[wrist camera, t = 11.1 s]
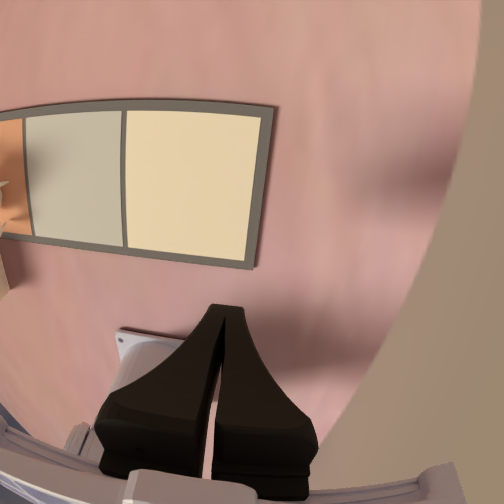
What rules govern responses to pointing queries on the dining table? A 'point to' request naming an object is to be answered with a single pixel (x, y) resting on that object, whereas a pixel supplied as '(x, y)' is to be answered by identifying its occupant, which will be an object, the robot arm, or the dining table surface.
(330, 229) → the dining table surface
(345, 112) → the dining table surface
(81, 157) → the game mat
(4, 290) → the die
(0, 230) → the rocket toy
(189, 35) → the dining table surface
